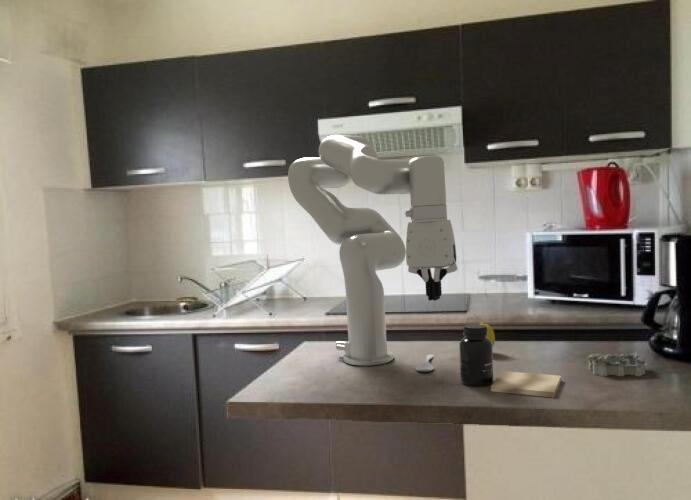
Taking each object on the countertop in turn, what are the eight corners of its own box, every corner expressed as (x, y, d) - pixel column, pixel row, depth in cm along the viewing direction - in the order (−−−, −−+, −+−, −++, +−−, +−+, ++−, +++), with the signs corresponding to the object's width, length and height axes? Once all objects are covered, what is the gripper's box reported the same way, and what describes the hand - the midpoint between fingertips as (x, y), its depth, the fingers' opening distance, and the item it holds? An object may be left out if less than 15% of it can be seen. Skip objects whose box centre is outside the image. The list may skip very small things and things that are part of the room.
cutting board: (490, 391, 111) (490, 386, 111) (502, 375, 121) (502, 371, 121) (554, 397, 106) (554, 392, 106) (561, 380, 115) (561, 375, 115)
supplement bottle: (494, 387, 113) (492, 329, 113) (460, 387, 115) (458, 329, 114) (492, 377, 120) (490, 322, 119) (460, 377, 121) (458, 323, 121)
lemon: (477, 350, 143) (476, 319, 143) (498, 352, 140) (497, 320, 140) (469, 355, 139) (467, 323, 138) (490, 357, 136) (489, 325, 135)
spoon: (414, 376, 126) (413, 369, 125) (424, 352, 145) (424, 346, 145) (432, 376, 124) (432, 369, 124) (440, 353, 144) (440, 346, 144)
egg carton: (593, 377, 117) (592, 358, 117) (586, 367, 124) (585, 349, 124) (648, 378, 114) (648, 358, 114) (638, 367, 122) (638, 349, 122)
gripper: (390, 217, 119) (395, 302, 120) (458, 212, 112) (463, 302, 113) (403, 216, 126) (408, 296, 127) (468, 212, 119) (472, 297, 120)
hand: (434, 299), depth 120 cm, fingers closed
